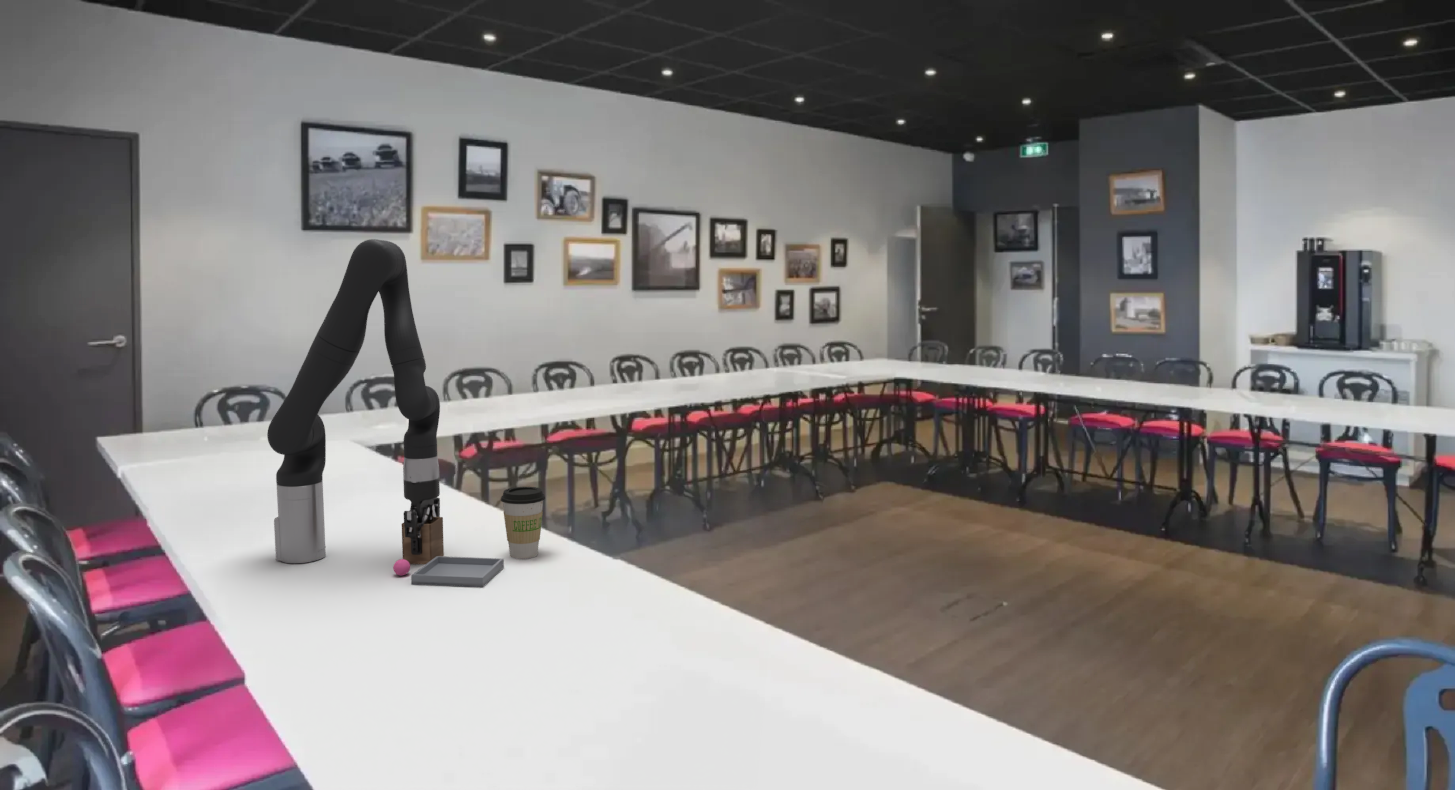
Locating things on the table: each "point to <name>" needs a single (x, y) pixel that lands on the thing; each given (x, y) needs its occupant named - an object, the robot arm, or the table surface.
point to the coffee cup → (523, 520)
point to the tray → (458, 571)
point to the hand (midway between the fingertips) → (423, 549)
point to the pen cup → (425, 543)
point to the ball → (401, 567)
